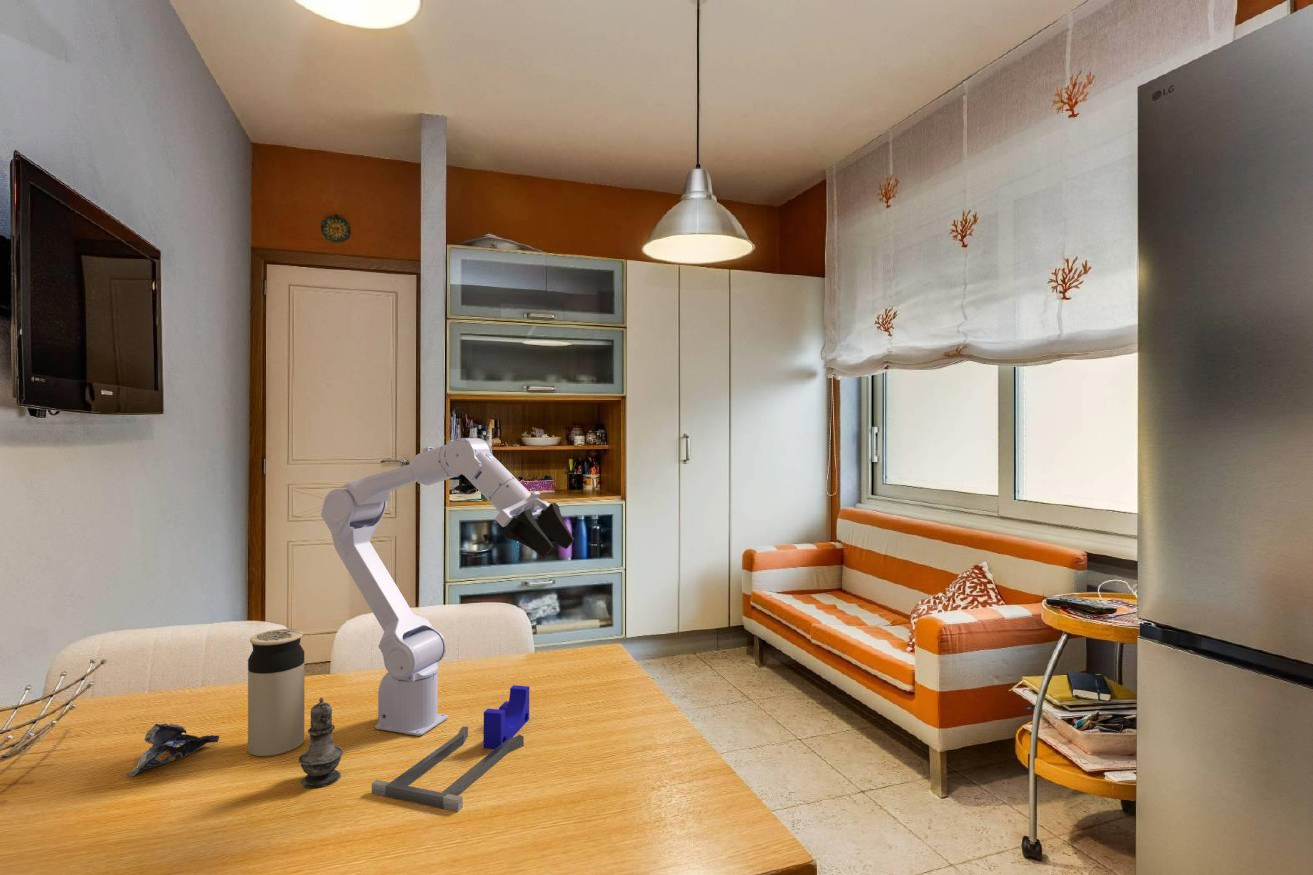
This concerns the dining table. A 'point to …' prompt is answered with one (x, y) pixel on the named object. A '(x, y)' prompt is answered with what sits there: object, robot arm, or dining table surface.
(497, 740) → the blue cradle block
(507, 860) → the dining table surface
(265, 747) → the travel mug
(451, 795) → the rail
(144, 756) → the snack package
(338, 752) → the salt shaker
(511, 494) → the robot arm
